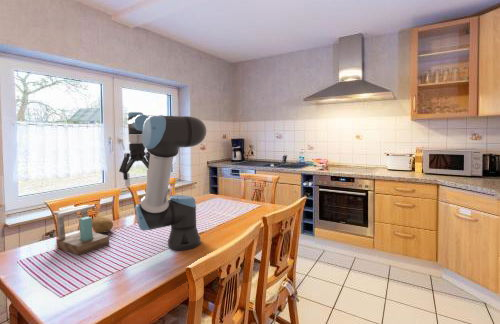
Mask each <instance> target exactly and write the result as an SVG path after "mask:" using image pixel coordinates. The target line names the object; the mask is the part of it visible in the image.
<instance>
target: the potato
mask: <svg viewBox="0 0 500 324" xmlns="http://www.w3.org/2000/svg"><path fill="white" fill-rule="evenodd" d="M91 219H92V231H93V232H95V233H99V234H103V233H108V232H109V231H111V230H112V229H113V228H114V223H113V221H112V220H111V219H110V218H108V217H105V216H95V217H93V218H91Z"/></svg>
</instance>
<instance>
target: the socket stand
mask: <svg viewBox="0 0 500 324" xmlns="http://www.w3.org/2000/svg"><path fill="white" fill-rule="evenodd" d="M92 209H94V206H93V205H90V204H83V205H78V206H75V207H69V208H64V209H61V210H56V211H53V212H52V214H53V215H55V216H56V228H57V238H56V247H57V249H60V250H62V251H66V252H68V253H70V254H73V253H74V255H77V256H82V255H84V254H87V253H91V252H92V250H93V251H95V250H97V249H100V247H101V248H103V247H106V246H108V244H109V245H110V236H109V235H106V234H103V233H99V232H96V231H92V233H93V239H91V240H88V241H85V242H84V241H81V238H80V231H79V232H77V233H73V234H71V235H67V236H66V230H65V218H64V216H67V215H70V214H76V213H80V216H81V217H80V218H83V217H89V216H88V215H89V214H88V211H89V210H92Z"/></svg>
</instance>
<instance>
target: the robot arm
mask: <svg viewBox="0 0 500 324" xmlns="http://www.w3.org/2000/svg"><path fill="white" fill-rule="evenodd" d="M127 128H128V142H129V144H128V149H129V152H124V154H123V156H124V157H123V160H122V162H121V165H120V167H119V170H118V172H119V173H121V174H123V176H122V177H123V180H124V186H125V187H131V183H130V182H131V179H130V177H131V176H130V172H129V171H130V170H131V168H132V167H133V165H134V163H135V162H142V163H143V165H144V167H146V186H145V193H144V196H143V197H142V198H141V199H140V203H137V204H135V206H134V207H135V209H134V210H135V211H134V212H135V216H136V221H137V224H138V227H139V229H140V230H141V231H151V230H156V229H162V228H165V227H170V232H169V237H168V239H167V247H168V249H170V250H173V251H189V250H192V249H195V248H197V247H199V246H200V245H201V242H202V241H201V237H200V236H201V235H199V234H200V233H199V231H198V228H197V204H196V203H197V202H196V198H194V197H192V196H191V195H184V194H174V195H170V197H169V199H168V197H167V196H168V190H169V185H170V179H171V175H172V174H171V172H172V168H173V162H174V157H176V156H177V155H179V151H180V148H192V147H196V146H198V145H199V144H201V143H202V142H203V141H204V140H205V137H206V136H207V126H206V125H205V123H204V122H203V121H202V120H201V119H199V118H197V117H194V116H187V115H186V116H185V115H184V116H181V115H180V116H179V115H163V114H160V115H159V114H158V115H153V114H152V115H146V114H144V113H143V112H140V111H139V112H138V111H131V112H128V113H127ZM145 150H146V151H145Z"/></svg>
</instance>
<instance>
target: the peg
mask: <svg viewBox="0 0 500 324" xmlns="http://www.w3.org/2000/svg"><path fill="white" fill-rule="evenodd" d="M92 219H93V218H92V217H91V216H88V217H83V218H81V217H79V218H78V222H79V232H80V238H81V241H84V242H85V241H88V240H91V239H93V233H92V232H93V228H92Z"/></svg>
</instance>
